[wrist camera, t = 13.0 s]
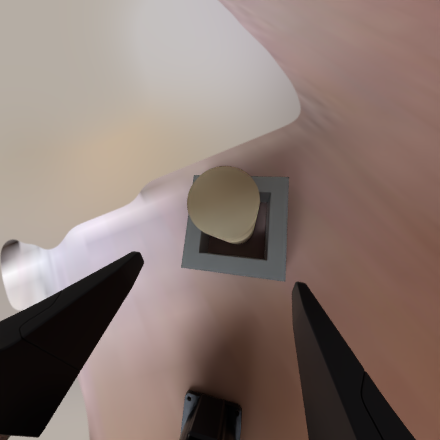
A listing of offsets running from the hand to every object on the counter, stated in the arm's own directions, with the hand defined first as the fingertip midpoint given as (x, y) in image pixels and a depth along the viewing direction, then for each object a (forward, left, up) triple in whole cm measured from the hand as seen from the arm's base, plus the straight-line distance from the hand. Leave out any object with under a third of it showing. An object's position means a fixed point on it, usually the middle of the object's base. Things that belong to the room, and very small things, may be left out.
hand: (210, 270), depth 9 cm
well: (+4, 0, -12) cm, 13 cm away
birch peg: (+4, 0, -12) cm, 13 cm away
